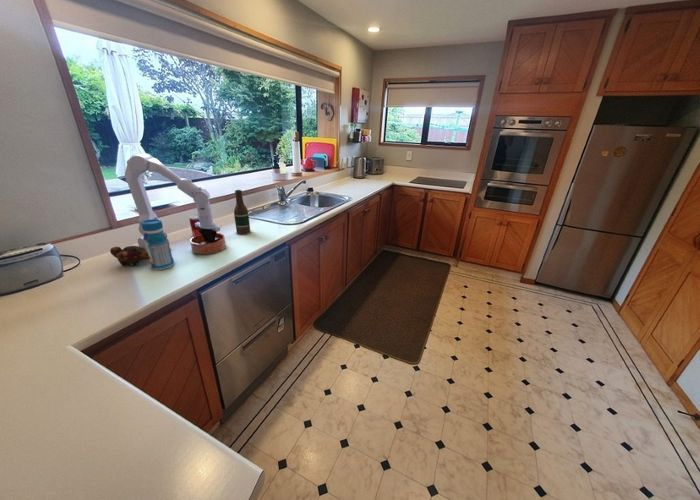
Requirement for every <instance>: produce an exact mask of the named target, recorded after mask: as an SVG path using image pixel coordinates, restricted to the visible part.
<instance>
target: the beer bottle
mask: <svg viewBox="0 0 700 500" xmlns="http://www.w3.org/2000/svg"><path fill="white" fill-rule="evenodd" d="M234 194H235V202H236V203H235V207H234V210H233V216H234V224H235V230H236V234H237V235H241V236H242V235H248V234H250V233H251V224H250V223H251V222H250V216H249V210H248V207H247V206H246V205H245V203H244V199H243V191H242V189H235V191H234Z"/></svg>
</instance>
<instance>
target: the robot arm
mask: <svg viewBox="0 0 700 500" xmlns="http://www.w3.org/2000/svg"><path fill="white" fill-rule="evenodd" d="M147 172H148V173H158V174H159V175H161V176H163V177H164V178H165V179H167V180H169V181H171V182H172V183H174V184H175V185H176V187H177V189H178V190H180V191H181V192H182V193H184V194H185V195H187V196H188V197H189V198H192V201H193V202H194V203H195V204H196V210H197V214H198V216H199V221H200V222H196V223H195V227H200V229H199V230H198V231H199V232H200V233H201V235H202V236H203V238H204V240H205V242H206V241H208V240H209V242H210V243H214V242H215V236H216V233H219V232H221V227H220V226H218V225H216V223H215V222H214V219H213V213H212V208H211V203H210V196H211V195H210V193H209V191H207V189H204V188H202V187H201V186H198V185H196V184H195V183H193V180H191V179H190V178H182V177H181V176H179V175H178V174H177V173H175V172H174V171H173V170H171V169H170V168H168V167H167V165H165V164H164V163H162V162H161V161H160V160H159V159H158V158H156V157H153V156H152V155H151V154H149V153H143V152H142V153H140V154H136V155H132V156H131V157H129V159H128V160H126V168H125V171H124V177H125V180H126V183H127V186H128V188H129V191H130V194H131V197H132V199H133V203H134V205H135V207H136V211H137V212H138V221H137V222H138V232H139V233H140V235H142V236H141V237H139V238H138V239H137V244H138V246H139V247H142V248H144V249H145V250H146V251H147V248H146V247H145V241H144V239H143V237H144V234H145V231H144V230H143V228H142V224H141V223H142V222H143V221H146V220H151V219H159V218H158V215H157V214H156V213H155V212H154V210H153V208H152V204H151V202H150V199H149V195H148V193H147V190H146V187H145V184H144V181H143V178H142V177H143V176H144V175H145V173H147ZM170 250H172V249H171V248H170ZM147 253H148V252H147Z"/></svg>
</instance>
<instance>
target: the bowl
mask: <svg viewBox="0 0 700 500" xmlns="http://www.w3.org/2000/svg"><path fill="white" fill-rule="evenodd" d="M215 238H219V241H217V242H214V243H208V244H200V243H203V242H205V240H204V238H203V236H202V235H201V234H200V235H197V236H192V237H191V238H190V239H189V243H190V247H191V251H192V252H193V253H194V254H197V255H212V254H216V253H219V252H222V250H224V249H225V248H226V247H227V242H226V238H225V235H224V234H222V233H219V232H217V233H216V236H215Z"/></svg>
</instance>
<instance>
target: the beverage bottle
mask: <svg viewBox="0 0 700 500" xmlns="http://www.w3.org/2000/svg"><path fill="white" fill-rule="evenodd" d="M141 224H142V228H143V230H144V231H145V234H144V237H143V239H144V241H145V247H146V248H147V252H148V255H149V258H150V260H149V262H150V266H151V269H153V270H156V271H159V270H160V271H161V270H166V269H169V268H171V267H173V266H174V264H175V261H174V259H173V253H172V251H171V250H172V249H171V245H170V241H169V240H170V239H168V234H167V233H166V232H165V230H163V228H164V227H163V222H162V220H161V219H159V218H158V219H151V220H146V221H143V222H142V223H141ZM170 249H171V250H170Z"/></svg>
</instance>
